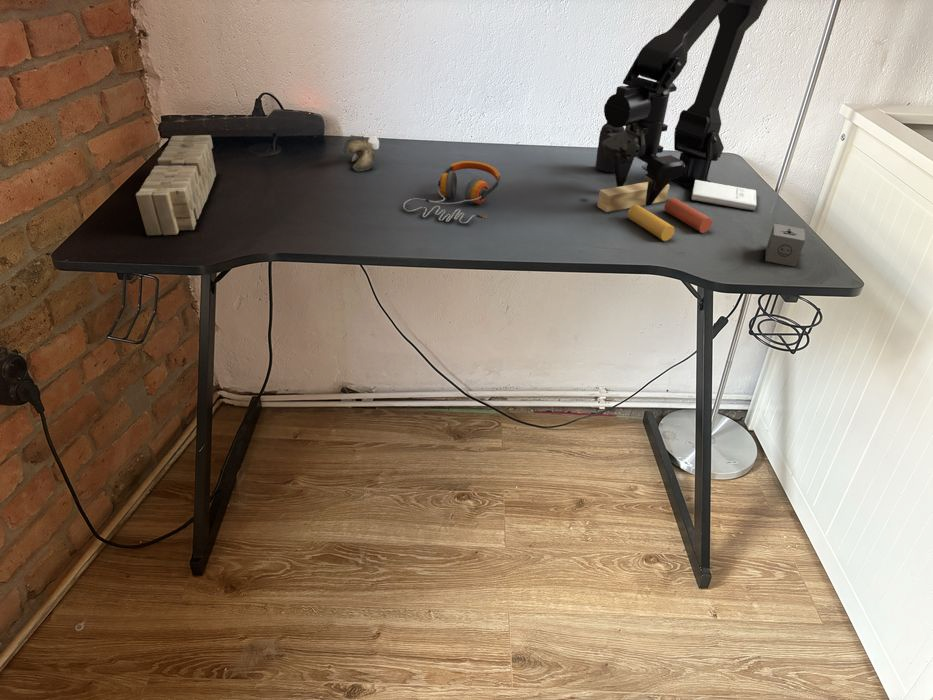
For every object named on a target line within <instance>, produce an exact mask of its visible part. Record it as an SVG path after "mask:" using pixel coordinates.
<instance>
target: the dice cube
mask: <svg viewBox="0 0 933 700" xmlns="http://www.w3.org/2000/svg"><path fill="white" fill-rule="evenodd" d="M768 238H769V239H768V241H767V244H766V247H765V260H764V261H765V262H769V263H775V264H779V265H785V266H788V267H789V266H790V267H797V264H798V261H799V259H800V255H801V252H802V250H803V248H804V244H805V242H806V233H805V228H802V227H795V226H790V225H785V224H780V223H779V224H778V223H773V226H772V229H771V232H770V235H769V237H768Z"/></svg>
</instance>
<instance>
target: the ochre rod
mask: <svg viewBox="0 0 933 700" xmlns="http://www.w3.org/2000/svg"><path fill="white" fill-rule="evenodd" d="M627 218H628V219H629V220H631V222H633V223H635V224H637V225H638V226H640V227H641V228H643V229H644V230H646V231H648V232H649V233H651V234H652V235H653V236H655V237H657V238H658V239H660V240H661V241H663V242H667V241H669V240H670V239H671V238H672V237H673V235H674V234H675V227H674V226H673V225H671V224H670V223H668V222H667V221H665V220H663V219H662V218H660V217H659V216H657V215H656V214H654V213H652V212H650V211H648V210H647V209H646V208H644V207H643V206H639V205H633V206H632V207H631V208H628V212H627Z"/></svg>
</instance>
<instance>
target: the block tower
mask: <svg viewBox="0 0 933 700" xmlns="http://www.w3.org/2000/svg"><path fill="white" fill-rule="evenodd" d="M213 148H214V145H213V139H212V135H211V134H201V135H196V134H195V135H172V136H171V137H170V139H169V141H168V143H167V146H166V147H165V148H164V150H163V151H162V153H161V155H160V156H159V157H158V159H157V164H158V165H155V166H154V167H153V169H152V170H150V173H149V175H148V176H147V178H145V180H144V182H143V183H142V185H141V187H140V189H139V191H137V192H136V193H135V198H136V201H137V206H138V208H139V211H140V212H139V213H140V215H141V219H142V223H143V226H144V230H145V233H146V235H147V236H161V235H163V236H174V235H175V236H176V235H178V234H179V232H180V231H194V230H195V229H196V225H197V221H198V220H199V218H200V216H201V214H202V212H203V209H204V206H205V203H206V202H207V200H208V198H209V194H210V192H211V189H212V187H213V184H214V182H215V178H216V177H217V171H216V166H215V162H214V156H213V151H212V150H213Z"/></svg>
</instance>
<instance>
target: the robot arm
mask: <svg viewBox="0 0 933 700" xmlns="http://www.w3.org/2000/svg"><path fill="white" fill-rule="evenodd" d="M768 1H769V0H693V2H691V4H690V5H689V6H688V7H687V8H686V9H685V11H684V12H683V13H682V14H681V15H680V16H679V17H678V19H676V21H675V23H674V24H673V25H672V26H671V27H670V29H668V30H666V31H665V32H662V33H660V34H658V35H656V36H654V37H653V38H651V39H650V40H649V41H648V42H647V43H646V44H645V45H644V46H642V47H641V49H640V51H639V53H638V54H637V56H636V58H635V59H634V61H633V63H632V65H631V66H630V68H629V70H628V72H627V73H626V75H625V77H624V79H623V81H622V84H623V85H619V86H617V87H616V90H615V93H614V94H611V95H610V96H609V97H608V99H607V100H606V102H605V103H604V107H603V115H604V119H605V120H606V123H607V122H608V123H609V124H610V125H611V126H612V127H615V128H619V127H624V131H623V132H619V133H612V134H607V135H606V136H605V137H604V138H603V140H602V146H601V148H602V149H603V150H604V157H605V158H606V159H609V160H611V161H612V162H613V165H614V170H615V172H614V175H615V182H616V187H621V186H625V183H626V181H627V178H628V176H629V173H630V170H631V167H632V165H633V162H634V160H635V158H637V159H638V160H640V161H642V162H644V163H646V167H645V168H646V172H647V173H644V176H645V179H646V180H647V182H648V187H647V194H646V205H645V206H647V207H649V206H651V205H652V203H653V202H654V200H655V199H656V198H657V196H658V195H659V194H660V192H661V191H662V190H663V189H664V187H665V186H666V185H667V184H669V183H670V182H671V181H674V182H676V183H677V184H679V185H681V186H683V187H684V188H687V189H693V186H694V182H695V180H700V181H706V182H711V183H713V182H712V181H710V180H708V176H709V173H710V168H711V164H712V162H717V161H718V160H719V158H721V156H722V154H723V152H724V148H725V146H724V144H723V142H722V139H721V136H720V131H721V127H722V120H721V119H722V118H721V113H720V105H721V102H722V99H723V96H724V94H725V91H726V88H727V85H728V83H729V79H730V76H731V74H732V71H733V67H734V65H735V62H736V60H737V56H738V53H739V50H740V48H741V44H742V42H743V39H744V36H745V34H746V32H747V31H748V30H749V29H750V28H751V27H752V26H753V25H754V24H755V23H756V22H757V21H758V20H759V18H760V17H761V15H762V12H763V10H764V8H765V6H766V5H767V3H768ZM716 18H718V19H717V20H718V24H719V27H718V30H717V34H716V37H715V39H714V41H713V45H712V48H711V52H710V54H709V57H708V61H707V63H706V67H705V69H704V73H703V75H702V77H701V81H700V84H699V87H698V91H697V93H696V97H695V99H694V102H693V104H691V105H690V106H689V107H688V108H687V109H686V110H685V109H683V110H682V111H681V112H680V114H679V117H678V121H677V123H676V126H675V128H674V132H673V133H674V134H673V135H674V136H673V139H674V140H673V141H674V143H673V145H674V148H673V149H674V151H675V152H680V155H679V158H678V157H676V156H673V155H672V154H669V155H662V156H658V155H657V154H661V153H663V150H664V146H663V145H660V142H661V138H662V133H663V132H668V127H669V125H667V124H665V118H666V114H667V108H668V104H669V99H670V93H674V92H676V91H677V89H678V87H677V86H676V84H675V83H674V81H675V80H676V79H677V78H678V77H679V76H680V74H681V72H682V71H683V69H684V68H685V66H686V65H687V63H688V54H689V51H690V49H691V48H692V47H693V45H694V44H695V43H696V42H697V41H698V40H699V39H700V37H701V36H702V35H703V33H704V32H705V31H706V30H707V29H708V28H709V26H710V25H711V24H713V22H714V21H715V19H716ZM640 76H641V77H640ZM653 204H654V203H653Z"/></svg>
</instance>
